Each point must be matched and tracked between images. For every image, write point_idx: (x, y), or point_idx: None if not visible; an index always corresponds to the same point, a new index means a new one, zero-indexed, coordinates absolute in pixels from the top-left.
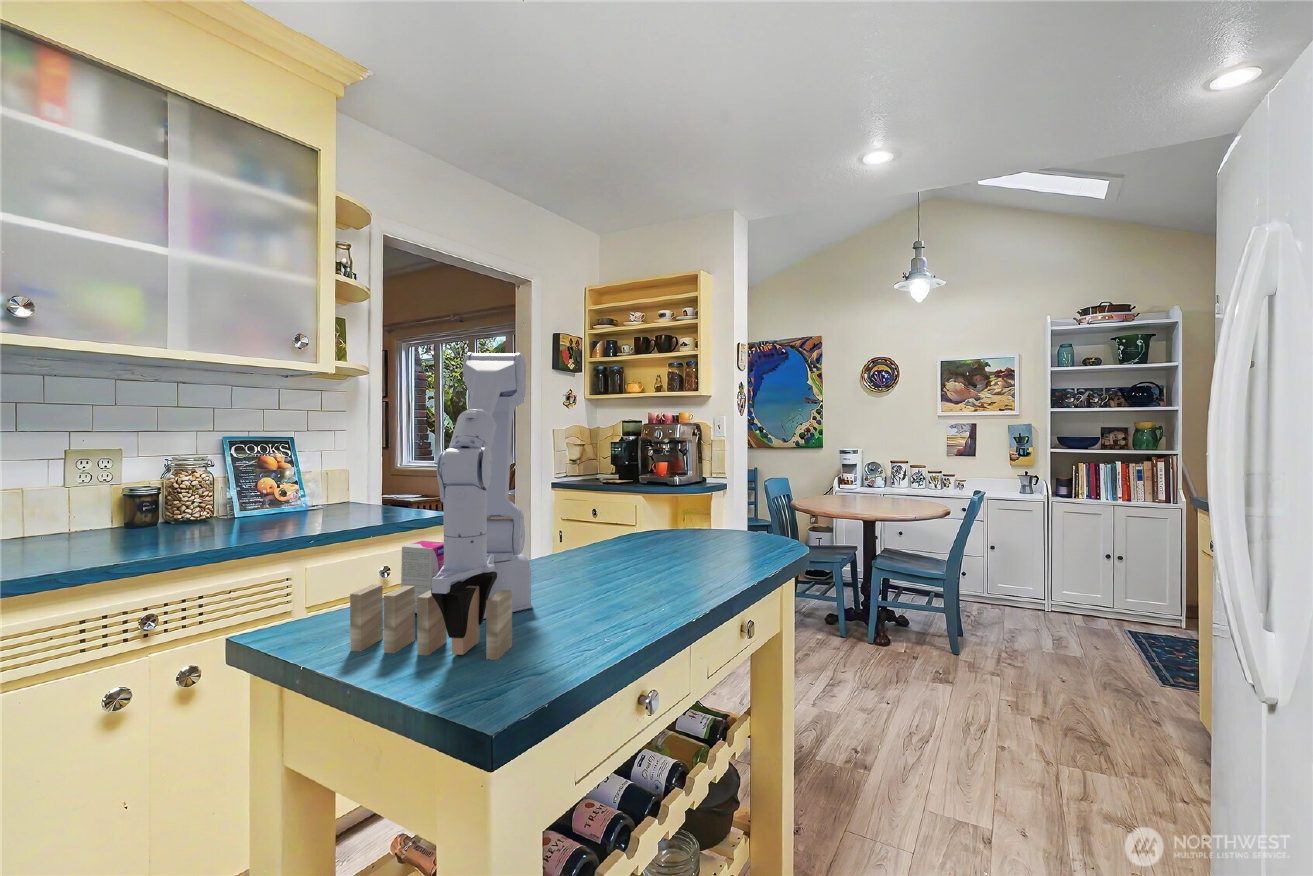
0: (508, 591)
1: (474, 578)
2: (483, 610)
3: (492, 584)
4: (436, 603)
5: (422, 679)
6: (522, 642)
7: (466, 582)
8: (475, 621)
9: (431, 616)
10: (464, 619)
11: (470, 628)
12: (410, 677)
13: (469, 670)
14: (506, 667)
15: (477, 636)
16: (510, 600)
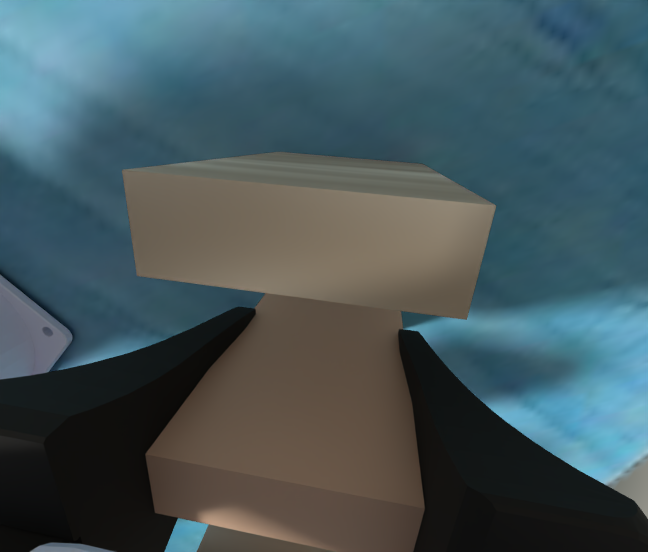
0: (157, 196)
1: (106, 543)
2: (222, 328)
3: (64, 377)
4: (301, 547)
5: (575, 362)
6: (233, 119)
7: (140, 548)
8: (278, 332)
9: None
10: (455, 376)
11: (333, 331)
12: (552, 398)
13: (517, 240)
14: (503, 97)
15: (280, 296)
16: (203, 166)
